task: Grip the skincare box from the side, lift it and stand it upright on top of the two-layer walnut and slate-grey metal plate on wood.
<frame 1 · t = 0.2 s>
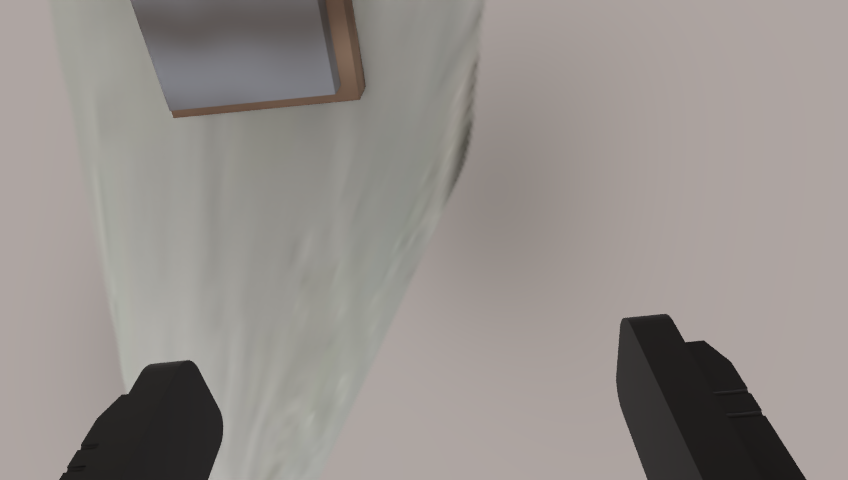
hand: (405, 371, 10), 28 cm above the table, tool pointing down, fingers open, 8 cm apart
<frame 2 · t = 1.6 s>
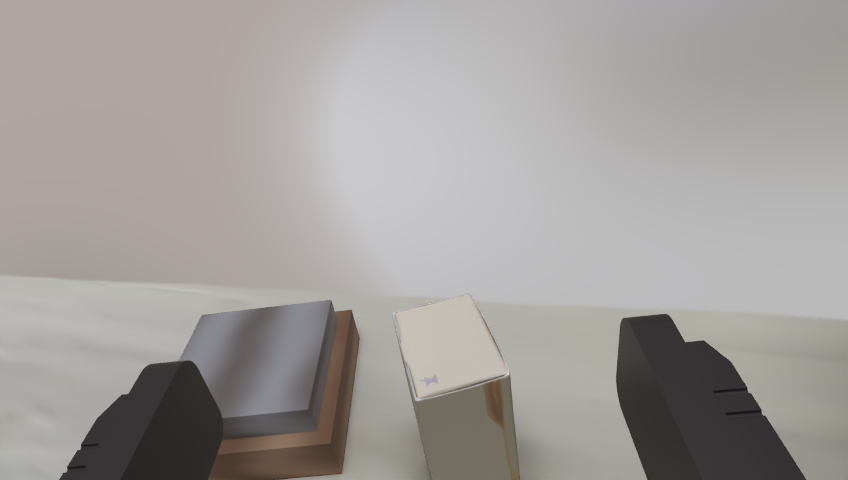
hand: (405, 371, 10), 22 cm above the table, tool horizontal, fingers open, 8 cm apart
metal plate on wood: (270, 405, 39), on the table
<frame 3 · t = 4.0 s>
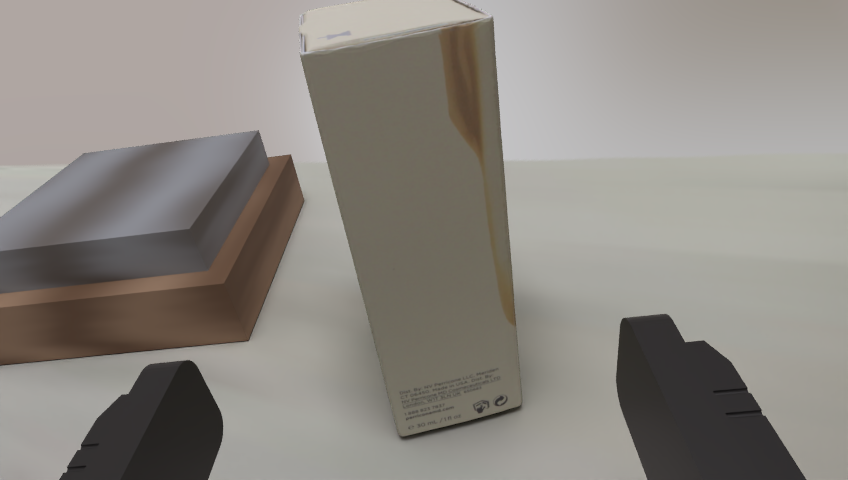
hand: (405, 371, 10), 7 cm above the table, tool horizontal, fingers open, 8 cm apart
skincare box: (441, 361, 20), on the table
metal plate on wood: (168, 270, 28), on the table
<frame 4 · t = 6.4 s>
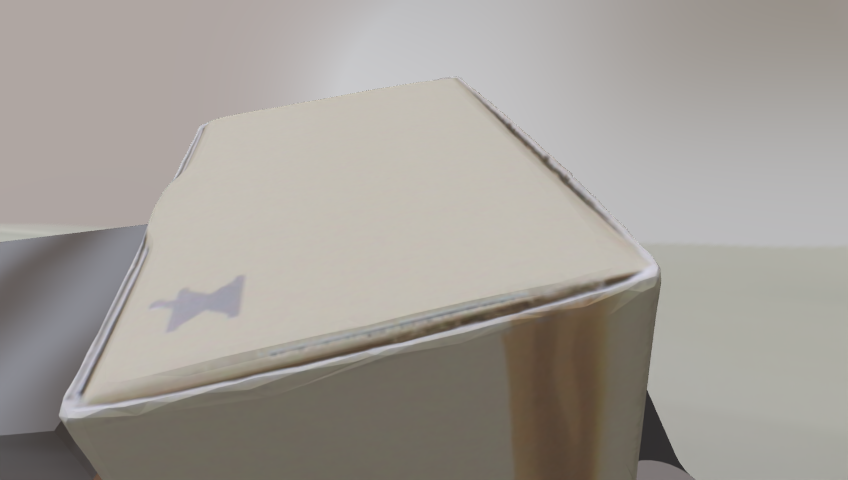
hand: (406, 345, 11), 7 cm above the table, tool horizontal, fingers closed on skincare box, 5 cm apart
metal plate on wood: (74, 414, 20), on the table
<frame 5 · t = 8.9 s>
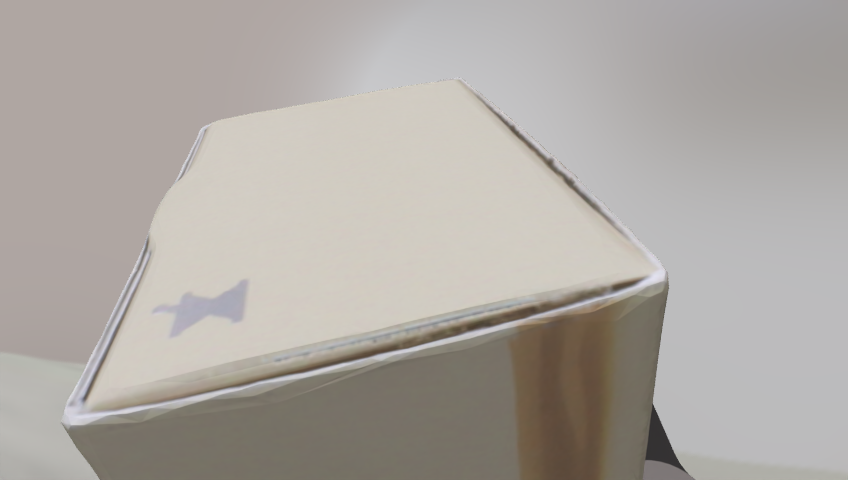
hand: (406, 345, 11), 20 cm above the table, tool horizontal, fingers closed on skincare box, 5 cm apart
when the fingers open (13 cm above the table, at t = 11.5 s): skincare box drops 1 cm, resting on metal plate on wood.
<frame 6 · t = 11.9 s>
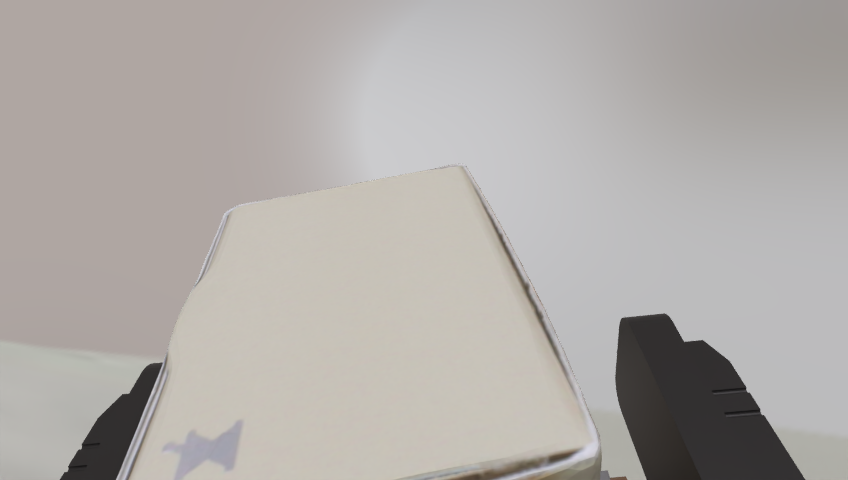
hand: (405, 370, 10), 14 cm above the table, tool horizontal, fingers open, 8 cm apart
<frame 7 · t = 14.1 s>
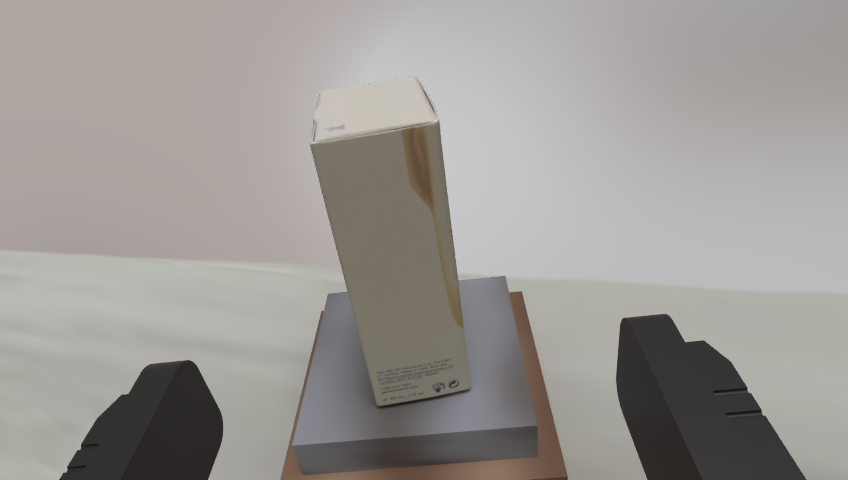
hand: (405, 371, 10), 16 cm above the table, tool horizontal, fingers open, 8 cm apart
skincare box: (416, 353, 26), point 5 cm above the table, touching metal plate on wood
metal plate on wood: (427, 416, 29), on the table
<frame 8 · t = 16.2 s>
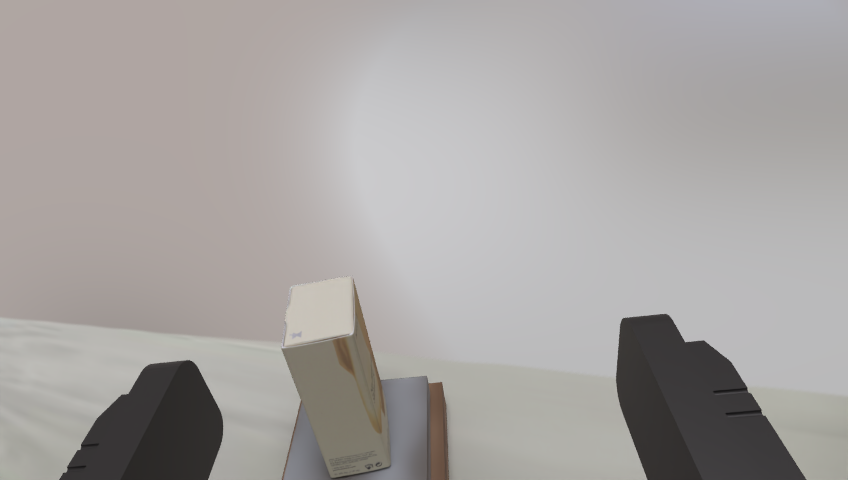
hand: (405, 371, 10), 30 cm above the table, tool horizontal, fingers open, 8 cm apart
skincare box: (360, 437, 40), point 5 cm above the table, touching metal plate on wood
metal plate on wood: (372, 474, 42), on the table
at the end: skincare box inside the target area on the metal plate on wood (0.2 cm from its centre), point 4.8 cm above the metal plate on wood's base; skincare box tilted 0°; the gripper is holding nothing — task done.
